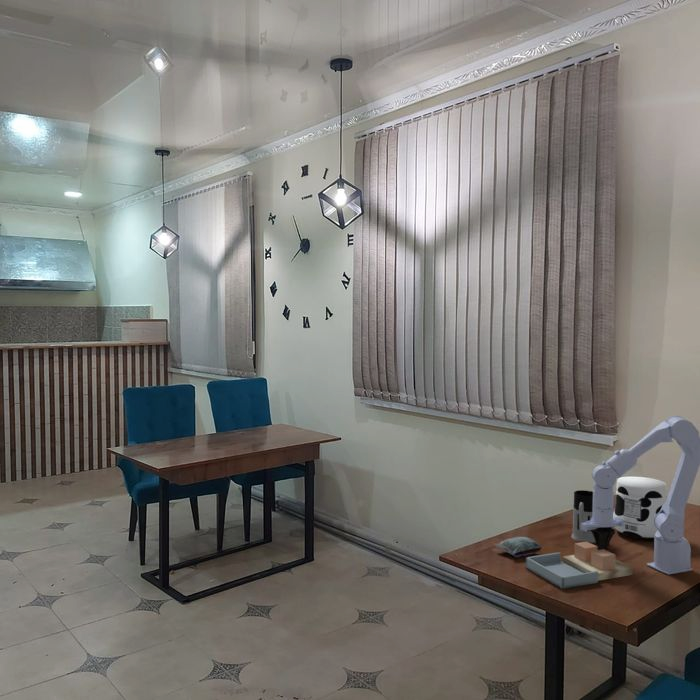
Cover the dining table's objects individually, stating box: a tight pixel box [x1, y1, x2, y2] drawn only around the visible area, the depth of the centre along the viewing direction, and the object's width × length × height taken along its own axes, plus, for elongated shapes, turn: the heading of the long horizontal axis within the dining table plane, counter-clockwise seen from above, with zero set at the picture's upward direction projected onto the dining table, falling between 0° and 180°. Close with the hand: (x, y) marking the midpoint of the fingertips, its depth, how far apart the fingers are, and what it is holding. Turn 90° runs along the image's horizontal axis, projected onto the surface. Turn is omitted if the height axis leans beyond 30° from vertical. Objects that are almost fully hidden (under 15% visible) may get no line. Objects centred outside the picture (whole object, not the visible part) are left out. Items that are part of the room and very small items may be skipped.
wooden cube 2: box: [591, 549, 616, 571], centre depth 182 cm, size 4×4×4 cm
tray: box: [525, 552, 599, 590], centre depth 182 cm, size 12×16×3 cm
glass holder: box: [570, 489, 596, 544], centre depth 210 cm, size 9×14×15 cm, turn 149°
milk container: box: [613, 476, 668, 540], centre depth 216 cm, size 17×17×18 cm
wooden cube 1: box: [573, 541, 598, 562], centre depth 189 cm, size 4×4×4 cm
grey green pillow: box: [494, 536, 543, 558], centre depth 199 cm, size 9×12×5 cm
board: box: [561, 554, 634, 582], centre depth 186 cm, size 13×14×2 cm
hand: (602, 552), depth 191 cm, fingers closed
